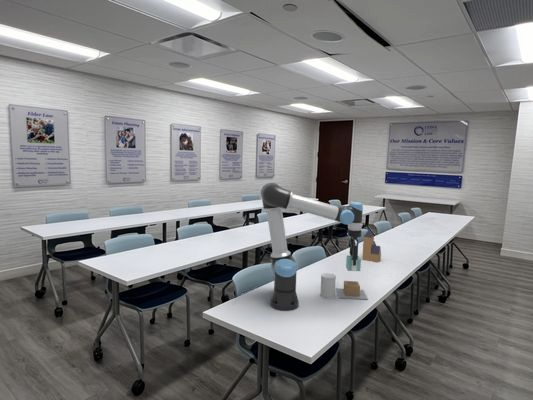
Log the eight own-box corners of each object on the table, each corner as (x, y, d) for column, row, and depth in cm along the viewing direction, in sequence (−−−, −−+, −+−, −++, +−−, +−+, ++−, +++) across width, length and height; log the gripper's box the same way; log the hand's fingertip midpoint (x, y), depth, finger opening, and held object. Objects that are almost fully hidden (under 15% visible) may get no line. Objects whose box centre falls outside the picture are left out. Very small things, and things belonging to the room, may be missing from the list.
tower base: (338, 298, 192) (339, 287, 191) (336, 289, 206) (336, 278, 205) (367, 300, 190) (368, 288, 189) (363, 290, 204) (363, 280, 203)
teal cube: (347, 270, 193) (348, 258, 192) (346, 266, 200) (346, 255, 199) (360, 271, 192) (360, 259, 192) (358, 267, 199) (358, 255, 198)
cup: (324, 291, 201) (325, 272, 200) (337, 295, 196) (338, 275, 195) (317, 295, 195) (318, 275, 193) (330, 299, 190) (331, 279, 188)
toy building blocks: (362, 259, 269) (364, 228, 266) (369, 254, 285) (371, 225, 282) (378, 262, 262) (380, 231, 259) (384, 257, 278) (386, 227, 275)
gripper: (364, 233, 183) (362, 274, 186) (358, 226, 203) (356, 263, 206) (350, 232, 184) (348, 273, 187) (345, 225, 204) (344, 263, 206)
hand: (352, 268), depth 196 cm, fingers closed on teal cube, 7 cm apart
